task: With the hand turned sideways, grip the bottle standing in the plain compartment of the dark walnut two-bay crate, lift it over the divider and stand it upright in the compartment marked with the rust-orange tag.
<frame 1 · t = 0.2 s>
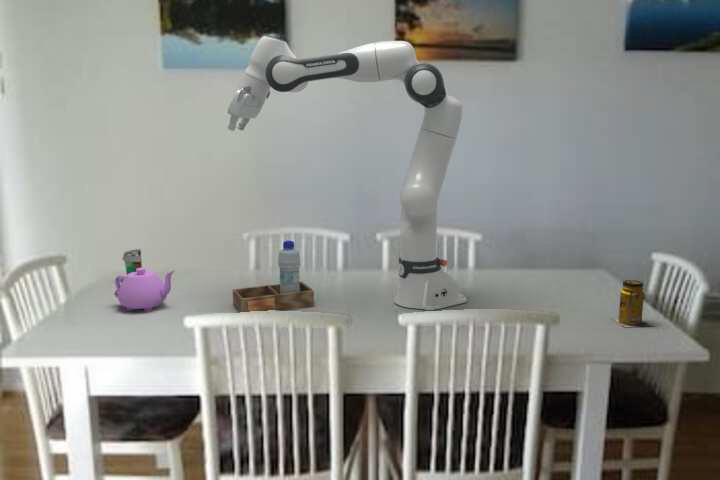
hand: (235, 129, 199), 53 cm above the table, tool tilted 25°, fingers open, 8 cm apart
condiment: (632, 323, 185), on the table
crate: (273, 305, 202), on the table
teapot: (146, 307, 202), on the table
food container: (133, 281, 232), on the table
bottle: (290, 304, 204), resting in crate
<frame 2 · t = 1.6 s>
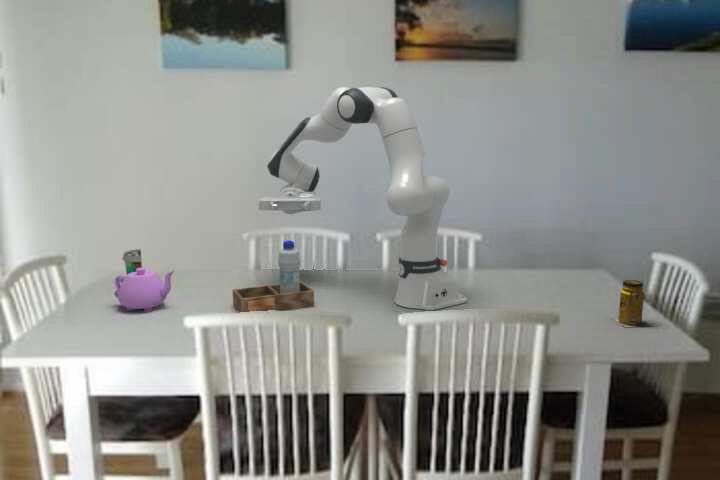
hand: (289, 207, 210), 28 cm above the table, tool horizontal, fingers open, 8 cm apart
nothing on the table moved.
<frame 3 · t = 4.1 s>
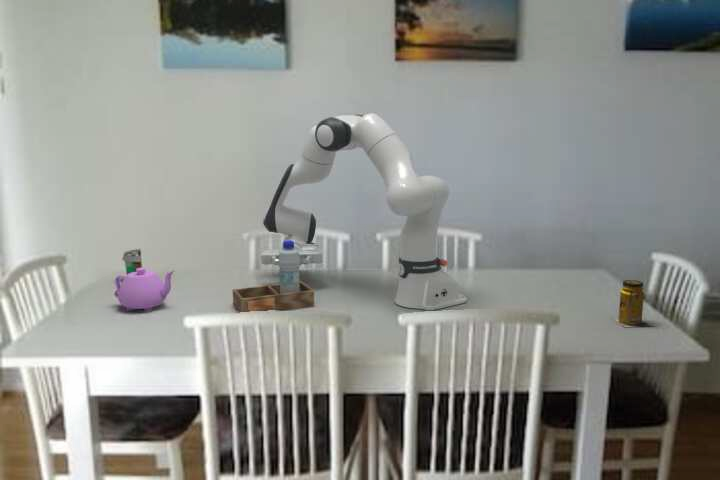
hand: (291, 262, 211), 11 cm above the table, tool horizontal, fingers open, 8 cm apart
nothing on the table moved.
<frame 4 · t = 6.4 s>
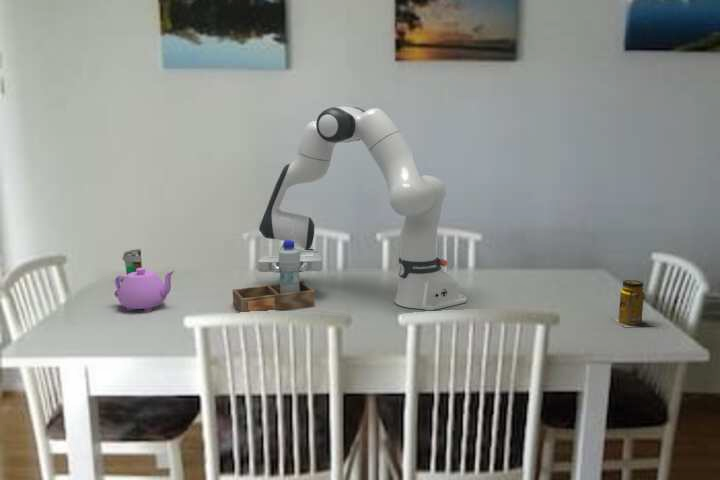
hand: (289, 269, 201), 11 cm above the table, tool horizontal, fingers closed on bottle, 6 cm apart
bottle: (290, 304, 204), resting in crate, touching gripper
everything else where it was.
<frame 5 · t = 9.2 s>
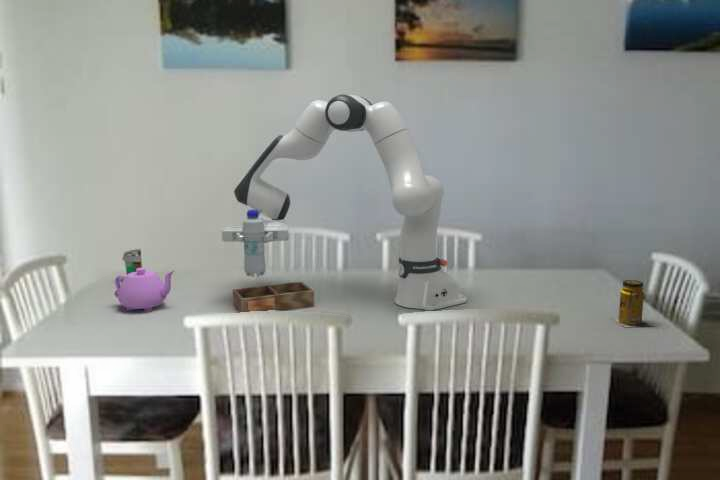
hand: (253, 238, 195), 22 cm above the table, tool horizontal, fingers closed on bottle, 6 cm apart
bottle: (255, 275, 198), point 10 cm above the table, touching gripper
everything else where it was.
when the fingers open (12 cm above the table, at t = 11.9 s): bottle stays where it is, resting in crate.
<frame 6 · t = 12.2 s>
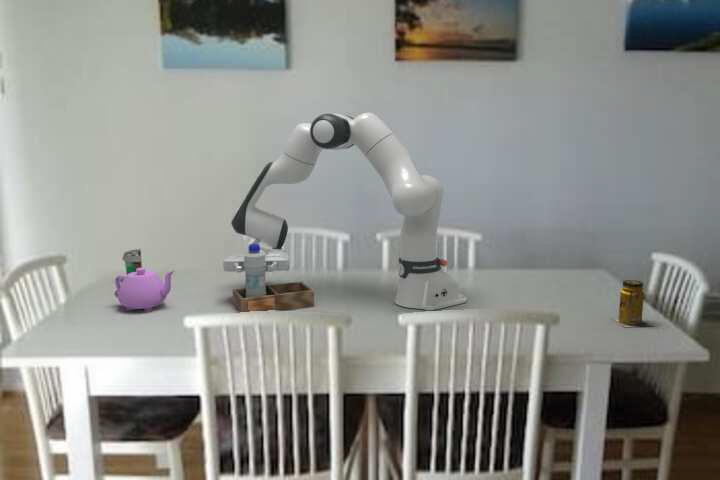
hand: (254, 269, 196), 12 cm above the table, tool horizontal, fingers open, 8 cm apart
bottle: (256, 308, 200), resting in crate
everything else where it was.
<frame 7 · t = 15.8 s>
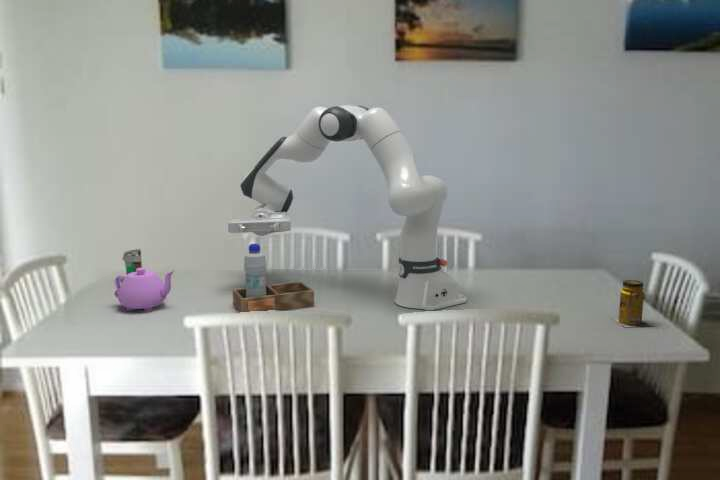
hand: (257, 229, 207), 22 cm above the table, tool horizontal, fingers open, 8 cm apart
nothing on the table moved.
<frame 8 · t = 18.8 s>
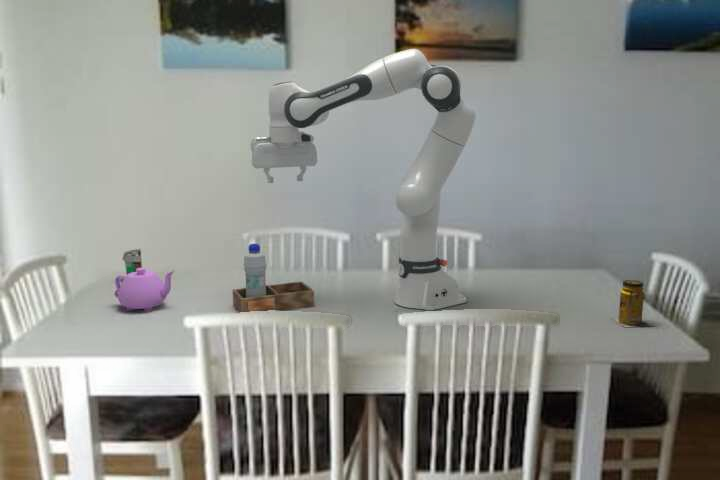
hand: (285, 181, 203), 37 cm above the table, tool pointing down, fingers open, 8 cm apart
nothing on the table moved.
at the end: bottle 0.1 cm from the target spot on the crate, point 0.0 cm above the crate's base; bottle tilted 0°; the gripper is holding nothing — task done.
